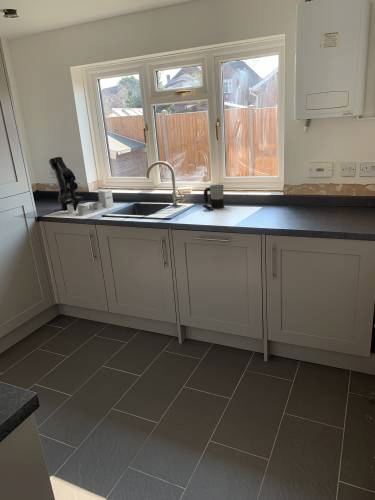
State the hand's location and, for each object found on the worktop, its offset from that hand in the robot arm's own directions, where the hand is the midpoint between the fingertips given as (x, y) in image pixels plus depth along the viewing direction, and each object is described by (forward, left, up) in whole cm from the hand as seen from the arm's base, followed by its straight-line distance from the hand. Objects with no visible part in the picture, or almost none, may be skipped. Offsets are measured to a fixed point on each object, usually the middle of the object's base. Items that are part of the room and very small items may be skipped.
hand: (72, 210), depth 287 cm
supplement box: (+13, +21, -2) cm, 25 cm away
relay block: (-4, +11, -2) cm, 12 cm away
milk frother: (+94, +39, -2) cm, 102 cm away
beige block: (+7, +13, -2) cm, 15 cm away
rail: (+13, +5, -1) cm, 14 cm away
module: (0, 0, -1) cm, 1 cm away
